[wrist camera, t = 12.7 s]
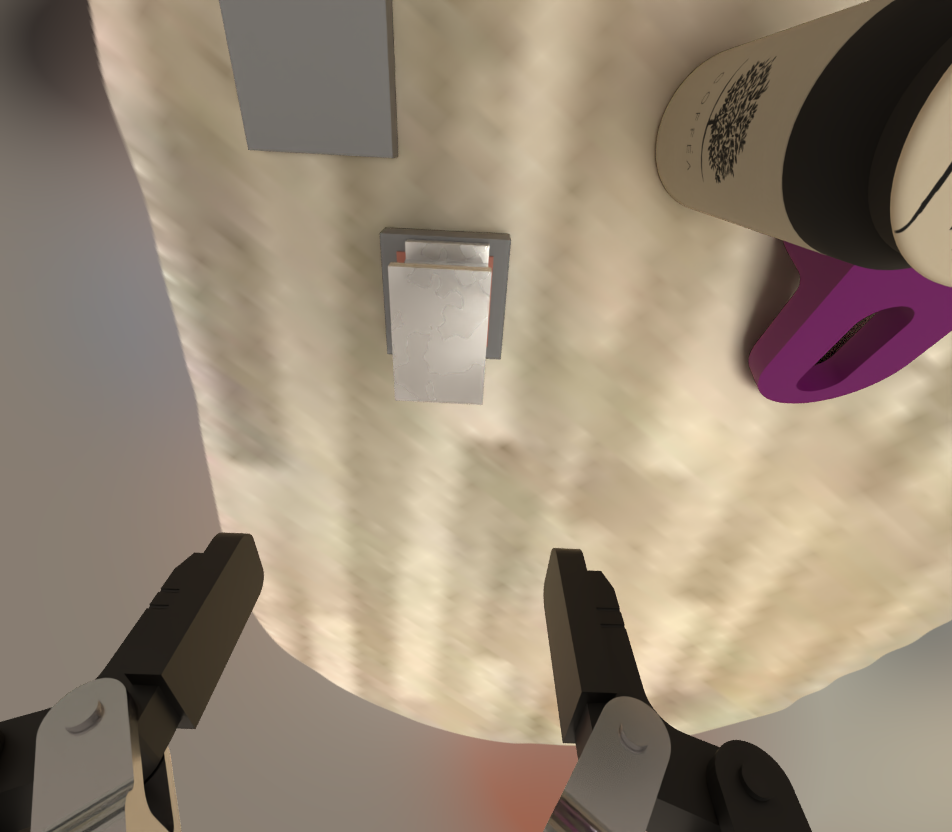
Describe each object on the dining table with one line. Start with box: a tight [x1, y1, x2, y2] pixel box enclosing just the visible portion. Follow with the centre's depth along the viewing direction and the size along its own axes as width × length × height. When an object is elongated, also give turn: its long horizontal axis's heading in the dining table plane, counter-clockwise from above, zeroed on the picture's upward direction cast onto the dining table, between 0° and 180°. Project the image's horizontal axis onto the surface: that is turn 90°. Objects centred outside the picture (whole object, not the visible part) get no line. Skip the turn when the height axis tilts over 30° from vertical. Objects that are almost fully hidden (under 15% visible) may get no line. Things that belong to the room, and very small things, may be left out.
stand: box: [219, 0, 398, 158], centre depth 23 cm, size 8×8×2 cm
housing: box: [388, 239, 492, 405], centre depth 26 cm, size 8×5×7 cm, turn 177°
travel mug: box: [656, 0, 952, 287], centre depth 18 cm, size 8×8×18 cm
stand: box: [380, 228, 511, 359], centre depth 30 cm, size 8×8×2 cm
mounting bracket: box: [748, 241, 952, 403], centre depth 28 cm, size 10×8×18 cm
